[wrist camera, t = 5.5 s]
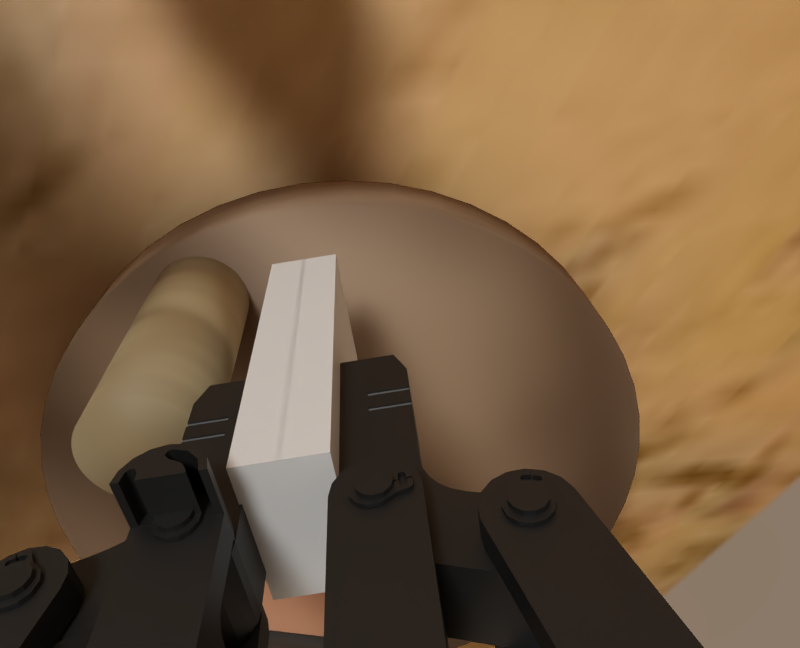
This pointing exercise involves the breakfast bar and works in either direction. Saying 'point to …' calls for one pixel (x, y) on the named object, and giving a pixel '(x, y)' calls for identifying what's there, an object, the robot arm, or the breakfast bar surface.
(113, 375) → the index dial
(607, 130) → the breakfast bar surface
